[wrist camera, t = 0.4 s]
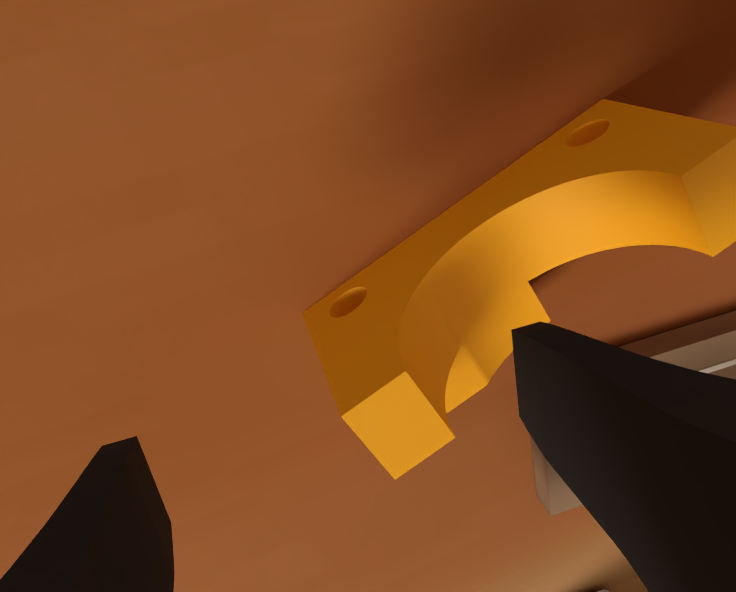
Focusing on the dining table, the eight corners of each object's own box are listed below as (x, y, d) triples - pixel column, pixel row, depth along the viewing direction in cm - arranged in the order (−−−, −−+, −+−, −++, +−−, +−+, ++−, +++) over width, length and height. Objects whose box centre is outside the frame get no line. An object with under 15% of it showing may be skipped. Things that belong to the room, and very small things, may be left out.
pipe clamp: (370, 397, 24) (427, 517, 18) (301, 311, 22) (341, 416, 16) (646, 202, 24) (792, 263, 18) (600, 98, 22) (747, 128, 16)
